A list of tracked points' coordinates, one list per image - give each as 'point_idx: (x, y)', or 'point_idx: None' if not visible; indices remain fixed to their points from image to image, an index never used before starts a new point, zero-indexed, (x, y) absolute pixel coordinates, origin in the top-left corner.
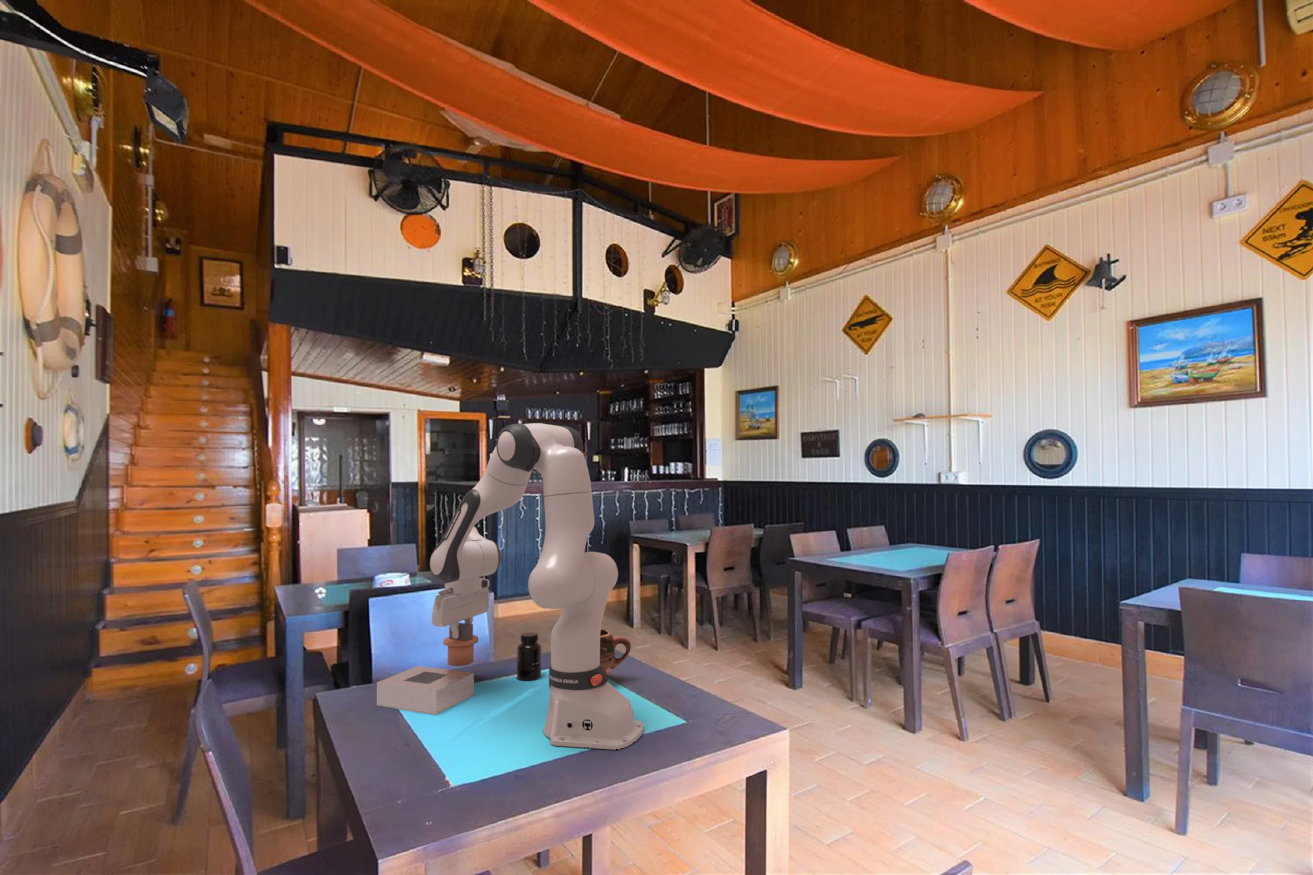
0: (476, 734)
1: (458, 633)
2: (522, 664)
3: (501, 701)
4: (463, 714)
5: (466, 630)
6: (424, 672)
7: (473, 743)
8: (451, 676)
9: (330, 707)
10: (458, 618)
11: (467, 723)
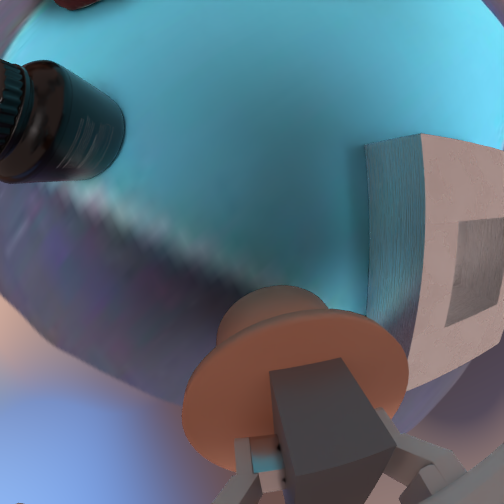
0: (462, 49)
1: (389, 426)
2: (101, 111)
3: (327, 63)
4: (432, 116)
5: (376, 419)
6: (443, 326)
7: (475, 44)
8: (466, 196)
9: (443, 391)
10: (492, 482)
11: (451, 83)
